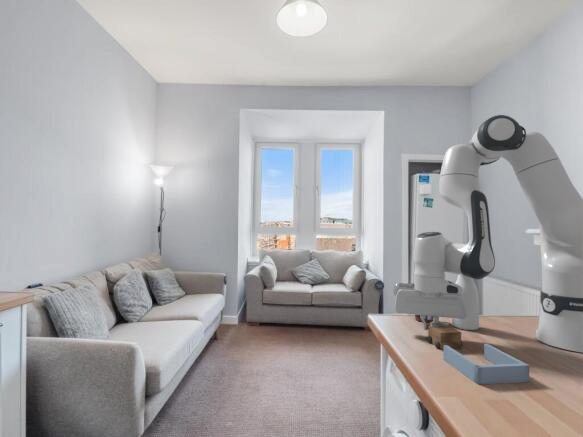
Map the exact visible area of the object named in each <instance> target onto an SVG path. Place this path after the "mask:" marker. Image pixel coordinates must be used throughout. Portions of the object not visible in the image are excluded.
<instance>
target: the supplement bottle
mask: <svg viewBox="0 0 583 437" xmlns="http://www.w3.org/2000/svg"><path fill="white" fill-rule="evenodd" d="M414 319H415V320H416V321H418V322H421V323H423V322H422V320H421V318H420V315H414ZM424 320H425V322H426V323H430V322H433V321H434V319H433V316H426V319H424Z"/></svg>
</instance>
